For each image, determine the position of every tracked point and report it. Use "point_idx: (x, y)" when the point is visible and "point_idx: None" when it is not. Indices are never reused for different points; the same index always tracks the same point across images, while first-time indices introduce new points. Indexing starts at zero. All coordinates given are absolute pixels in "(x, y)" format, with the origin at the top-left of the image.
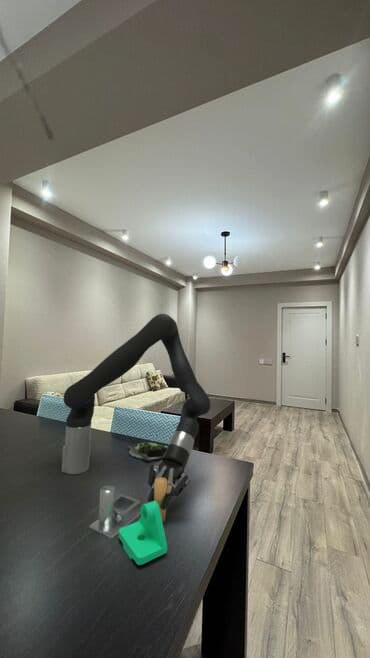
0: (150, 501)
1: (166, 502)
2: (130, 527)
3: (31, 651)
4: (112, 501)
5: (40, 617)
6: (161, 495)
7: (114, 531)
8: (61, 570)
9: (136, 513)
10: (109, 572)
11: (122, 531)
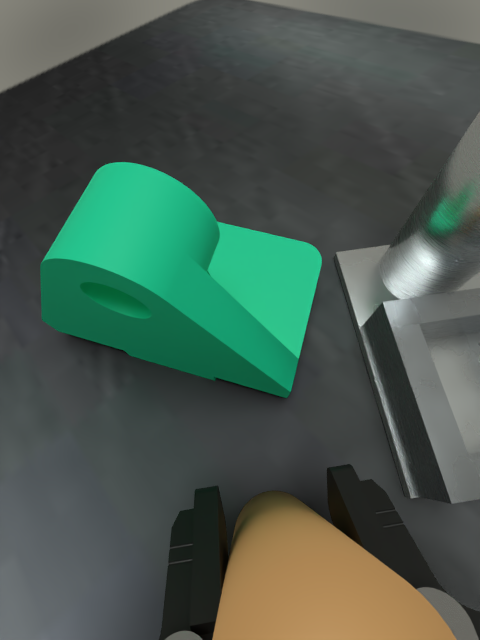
0: (332, 477)
1: (174, 547)
2: (289, 294)
3: (174, 10)
4: (458, 170)
5: (225, 35)
6: (238, 550)
7: (356, 276)
8: (319, 100)
9: (400, 441)
10: (200, 168)
11: (293, 251)
